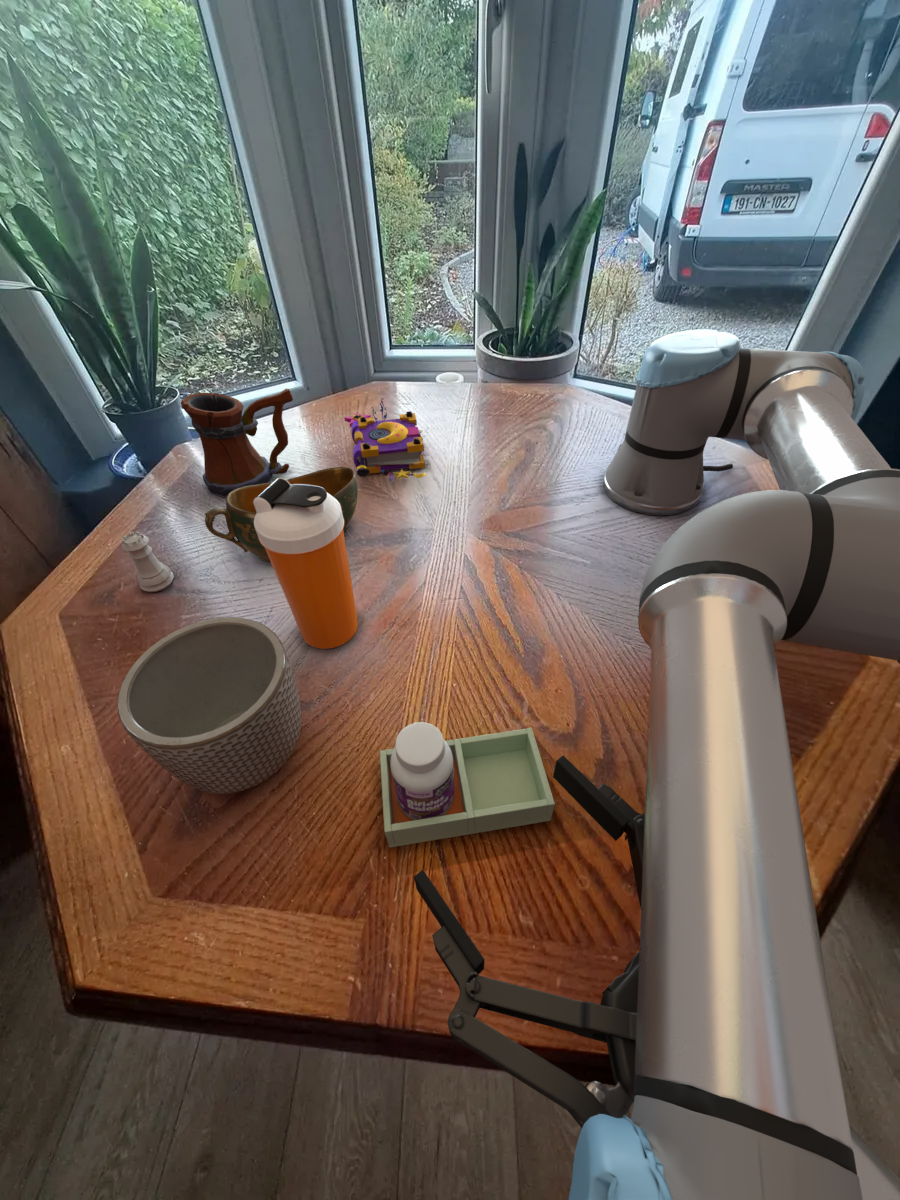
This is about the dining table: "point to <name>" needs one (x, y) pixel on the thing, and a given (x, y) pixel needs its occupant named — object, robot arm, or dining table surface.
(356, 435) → the book
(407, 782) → the pill bottle
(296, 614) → the shaker bottle
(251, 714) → the planter
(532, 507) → the dining table surface
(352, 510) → the creamer
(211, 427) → the mug
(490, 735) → the tray
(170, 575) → the rook chess piece
